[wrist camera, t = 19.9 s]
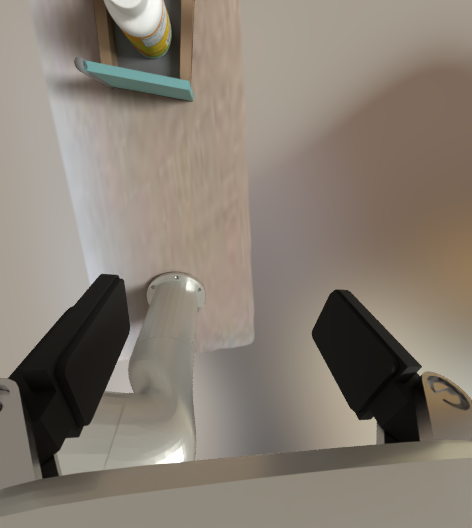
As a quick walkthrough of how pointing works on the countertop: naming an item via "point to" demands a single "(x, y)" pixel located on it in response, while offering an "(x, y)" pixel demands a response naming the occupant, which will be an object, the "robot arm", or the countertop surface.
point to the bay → (127, 56)
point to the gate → (135, 80)
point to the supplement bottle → (143, 24)
